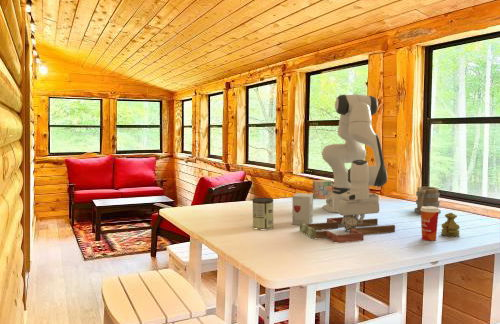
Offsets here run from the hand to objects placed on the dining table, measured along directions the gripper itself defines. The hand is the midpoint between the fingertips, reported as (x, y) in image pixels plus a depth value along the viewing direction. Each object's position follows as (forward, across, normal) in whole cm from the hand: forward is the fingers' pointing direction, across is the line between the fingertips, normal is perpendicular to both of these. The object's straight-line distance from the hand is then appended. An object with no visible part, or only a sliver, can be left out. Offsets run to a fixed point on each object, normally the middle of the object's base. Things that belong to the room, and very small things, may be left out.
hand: (359, 223), depth 200 cm
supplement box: (+3, +19, -22) cm, 30 cm away
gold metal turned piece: (+4, -34, +20) cm, 40 cm away
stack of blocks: (+3, -29, -84) cm, 89 cm away
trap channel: (+3, +6, 0) cm, 7 cm away
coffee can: (+3, +41, -20) cm, 46 cm away
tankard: (+3, -56, -22) cm, 60 cm away
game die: (+3, +5, -1) cm, 6 cm away
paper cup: (+4, -20, +23) cm, 31 cm away
